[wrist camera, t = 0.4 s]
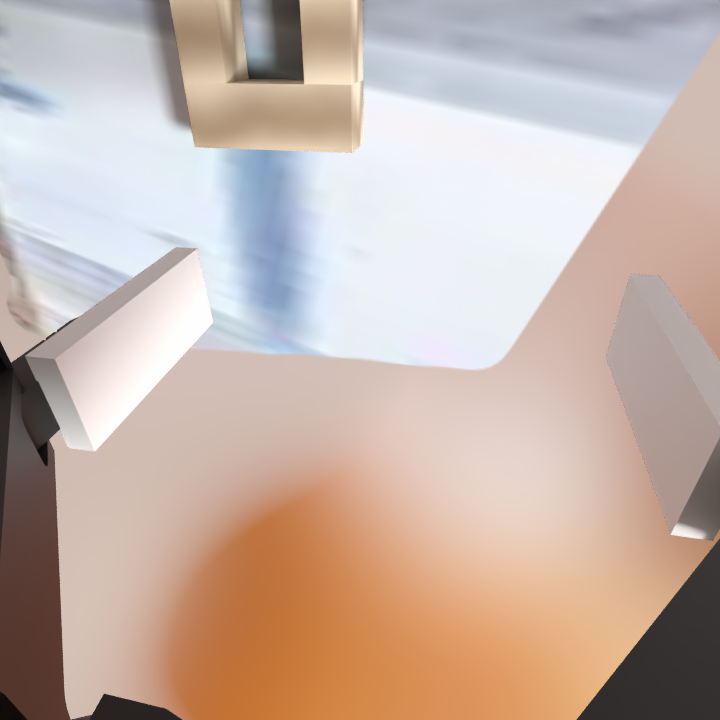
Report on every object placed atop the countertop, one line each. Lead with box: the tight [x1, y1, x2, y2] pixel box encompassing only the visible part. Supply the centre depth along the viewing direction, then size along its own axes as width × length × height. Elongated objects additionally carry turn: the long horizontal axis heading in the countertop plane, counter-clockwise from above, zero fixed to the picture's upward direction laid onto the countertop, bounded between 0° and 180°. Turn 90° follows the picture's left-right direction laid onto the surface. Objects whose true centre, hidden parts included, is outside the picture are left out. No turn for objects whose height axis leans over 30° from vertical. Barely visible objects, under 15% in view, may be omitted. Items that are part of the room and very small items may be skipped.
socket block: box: [169, 0, 363, 153], centre depth 34 cm, size 14×12×4 cm
